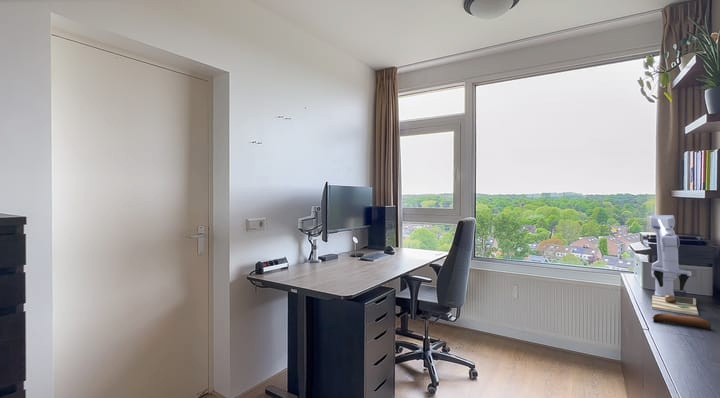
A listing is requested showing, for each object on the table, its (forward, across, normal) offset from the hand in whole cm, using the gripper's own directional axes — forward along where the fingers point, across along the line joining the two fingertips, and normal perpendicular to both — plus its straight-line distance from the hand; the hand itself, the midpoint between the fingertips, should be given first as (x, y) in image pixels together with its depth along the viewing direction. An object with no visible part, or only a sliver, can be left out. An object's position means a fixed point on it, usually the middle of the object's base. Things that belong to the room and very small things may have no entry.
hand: (671, 288), depth 164 cm
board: (+10, -1, +4) cm, 11 cm away
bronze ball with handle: (+8, +1, +7) cm, 11 cm away
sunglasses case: (+10, +9, -22) cm, 26 cm away
